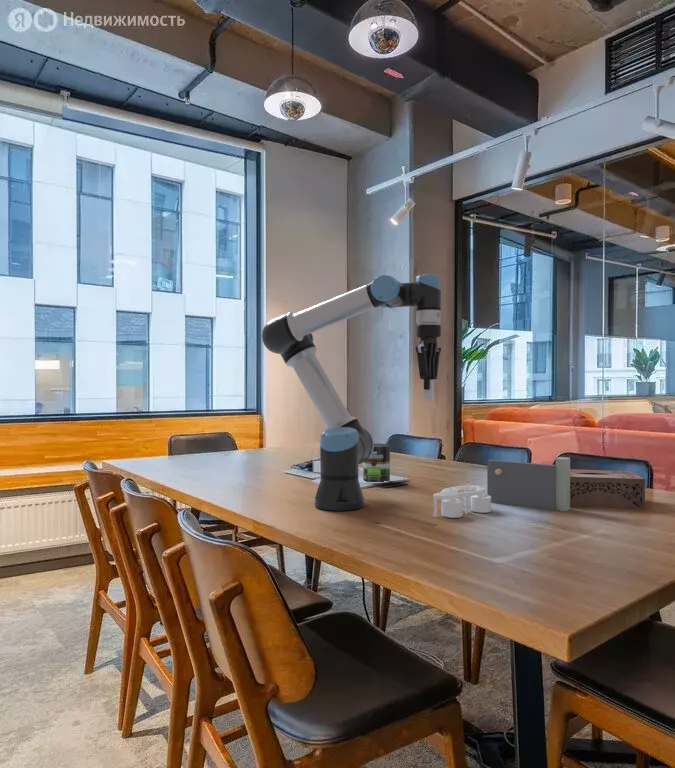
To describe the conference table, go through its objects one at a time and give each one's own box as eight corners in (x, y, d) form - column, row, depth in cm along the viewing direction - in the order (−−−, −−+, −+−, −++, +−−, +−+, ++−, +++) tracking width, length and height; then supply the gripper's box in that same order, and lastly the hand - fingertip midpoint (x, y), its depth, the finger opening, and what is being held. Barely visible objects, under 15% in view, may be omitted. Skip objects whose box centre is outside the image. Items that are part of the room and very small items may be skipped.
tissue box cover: (552, 509, 175) (552, 476, 174) (545, 499, 189) (545, 468, 189) (644, 513, 169) (645, 479, 169) (630, 502, 183) (630, 471, 183)
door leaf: (563, 517, 163) (563, 460, 163) (484, 506, 176) (484, 454, 176) (571, 511, 170) (571, 457, 170) (495, 501, 184) (495, 451, 184)
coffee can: (387, 485, 212) (387, 447, 212) (360, 483, 215) (360, 446, 215) (392, 480, 222) (392, 443, 221) (366, 479, 225) (366, 443, 224)
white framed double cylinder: (447, 525, 155) (447, 498, 155) (420, 517, 164) (420, 491, 164) (499, 516, 165) (499, 490, 165) (471, 508, 175) (471, 484, 175)
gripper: (429, 322, 173) (429, 401, 173) (448, 325, 183) (448, 399, 184) (407, 323, 177) (407, 400, 178) (427, 326, 188) (427, 399, 188)
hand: (428, 400), depth 181 cm, fingers closed
